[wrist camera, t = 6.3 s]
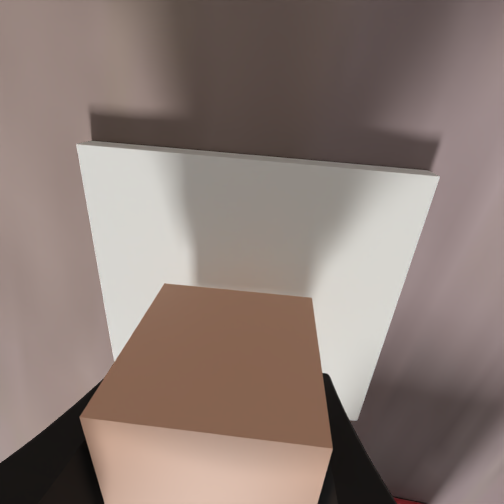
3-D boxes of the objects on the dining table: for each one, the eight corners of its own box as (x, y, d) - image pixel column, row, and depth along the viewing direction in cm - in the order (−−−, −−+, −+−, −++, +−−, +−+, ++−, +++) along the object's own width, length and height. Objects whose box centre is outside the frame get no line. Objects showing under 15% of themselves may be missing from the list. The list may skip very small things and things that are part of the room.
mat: (127, 375, 18) (119, 390, 17) (91, 140, 12) (76, 144, 12) (353, 404, 18) (357, 420, 17) (428, 170, 12) (440, 176, 11)
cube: (172, 386, 13) (114, 538, 8) (164, 283, 11) (79, 417, 6) (294, 399, 13) (300, 565, 8) (311, 297, 10) (333, 448, 6)
